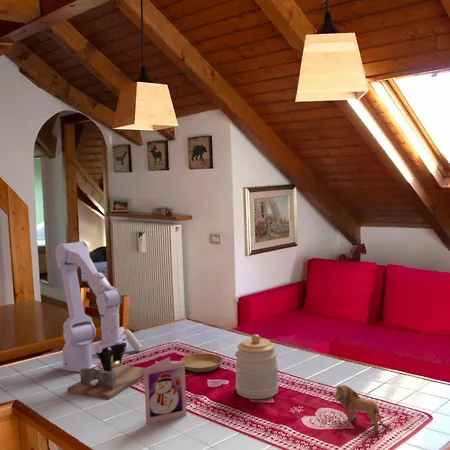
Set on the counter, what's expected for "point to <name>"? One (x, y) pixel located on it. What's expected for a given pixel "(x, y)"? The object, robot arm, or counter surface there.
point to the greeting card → (165, 391)
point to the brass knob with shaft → (113, 364)
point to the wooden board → (107, 381)
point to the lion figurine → (357, 405)
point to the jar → (256, 368)
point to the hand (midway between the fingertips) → (112, 368)
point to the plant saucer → (202, 362)
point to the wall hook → (130, 339)
